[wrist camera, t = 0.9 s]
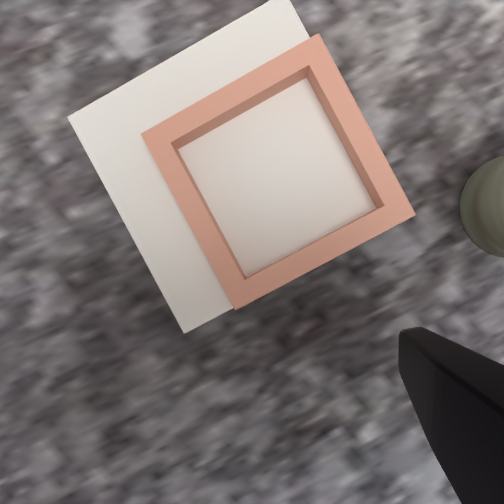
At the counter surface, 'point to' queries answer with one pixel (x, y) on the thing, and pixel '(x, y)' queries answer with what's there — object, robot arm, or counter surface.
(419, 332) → the robot arm
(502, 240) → the post
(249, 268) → the board
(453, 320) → the counter surface
